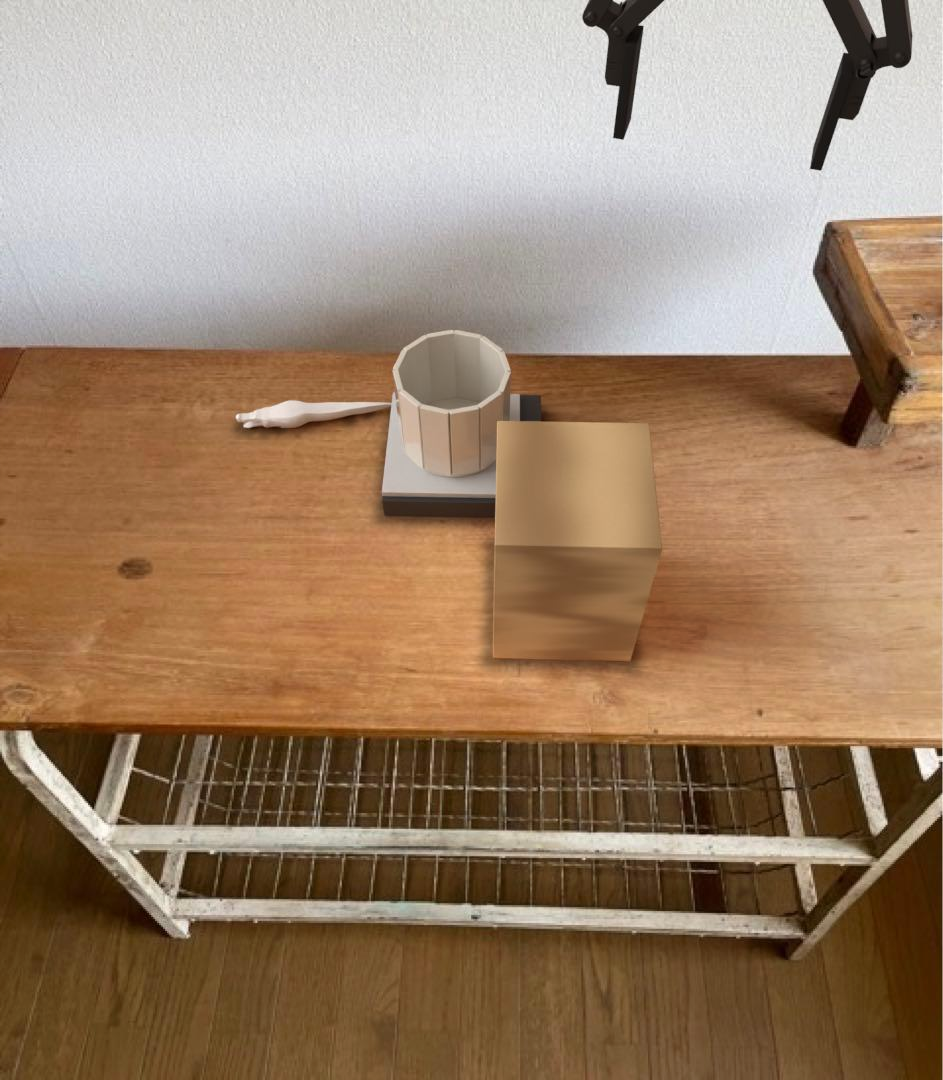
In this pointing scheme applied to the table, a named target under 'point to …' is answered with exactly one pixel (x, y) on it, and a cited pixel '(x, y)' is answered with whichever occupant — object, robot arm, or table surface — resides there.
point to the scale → (440, 495)
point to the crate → (573, 539)
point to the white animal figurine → (305, 413)
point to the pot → (451, 401)
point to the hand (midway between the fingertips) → (717, 144)
